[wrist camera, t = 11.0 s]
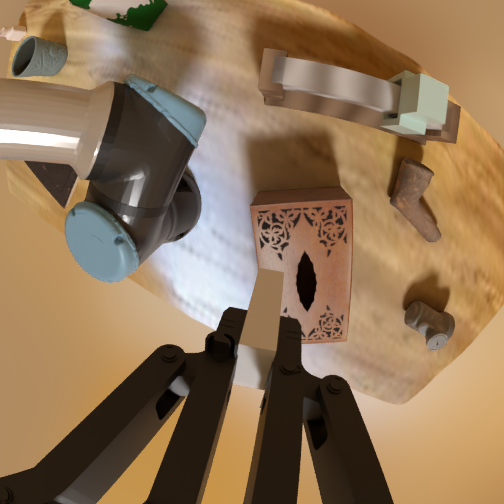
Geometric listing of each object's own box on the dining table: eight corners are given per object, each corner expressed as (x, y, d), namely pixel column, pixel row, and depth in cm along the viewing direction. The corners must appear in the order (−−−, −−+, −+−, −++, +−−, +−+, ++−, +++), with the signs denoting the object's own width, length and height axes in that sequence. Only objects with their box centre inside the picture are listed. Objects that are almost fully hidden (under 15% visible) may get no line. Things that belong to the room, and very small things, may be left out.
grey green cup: (40, 71, 39) (7, 70, 28) (58, 37, 35) (26, 32, 24) (56, 83, 41) (20, 83, 30) (76, 47, 37) (41, 40, 26)
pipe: (433, 255, 41) (470, 221, 36) (378, 194, 39) (419, 152, 33) (423, 239, 47) (456, 207, 41) (372, 182, 44) (407, 145, 39)
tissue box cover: (258, 192, 47) (250, 206, 38) (340, 186, 44) (352, 199, 35) (273, 313, 57) (268, 344, 48) (340, 309, 54) (346, 341, 45)
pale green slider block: (380, 126, 34) (415, 124, 23) (386, 80, 31) (421, 61, 19) (402, 133, 34) (443, 136, 22) (408, 88, 31) (449, 75, 19)
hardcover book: (69, 206, 54) (63, 208, 52) (27, 156, 50) (21, 158, 48) (94, 152, 48) (87, 153, 46) (47, 105, 44) (40, 105, 42)
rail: (265, 104, 40) (256, 94, 30) (271, 62, 37) (264, 41, 27) (423, 145, 38) (455, 150, 28) (429, 105, 35) (462, 100, 24)
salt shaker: (27, 32, 33) (5, 29, 24) (20, 41, 34) (-2, 40, 26) (26, 26, 32) (5, 23, 23) (19, 35, 33) (-2, 33, 25)
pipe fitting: (450, 308, 49) (463, 337, 41) (429, 331, 54) (437, 361, 45) (419, 286, 50) (430, 315, 41) (397, 312, 54) (403, 342, 45)
